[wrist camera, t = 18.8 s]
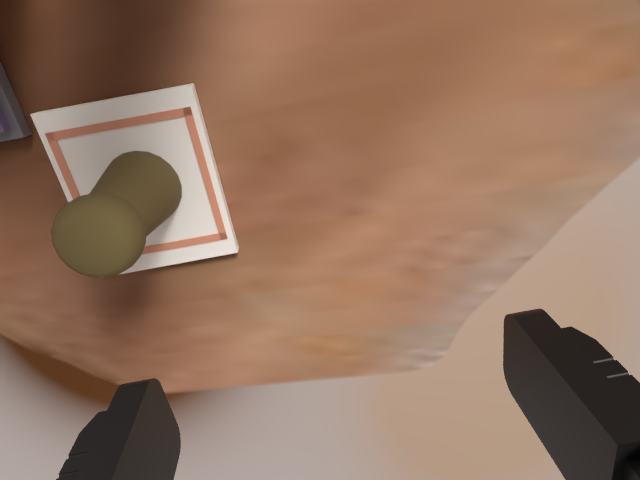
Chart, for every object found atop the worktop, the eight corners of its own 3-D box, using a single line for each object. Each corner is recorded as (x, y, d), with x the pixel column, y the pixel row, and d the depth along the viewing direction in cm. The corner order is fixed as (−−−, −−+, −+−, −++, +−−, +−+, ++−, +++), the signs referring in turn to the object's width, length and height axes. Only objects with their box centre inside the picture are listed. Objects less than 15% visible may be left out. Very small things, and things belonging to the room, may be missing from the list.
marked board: (36, 111, 34) (29, 114, 33) (193, 82, 34) (191, 84, 33) (105, 272, 40) (100, 278, 39) (238, 247, 40) (237, 253, 39)
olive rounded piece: (95, 152, 34) (18, 201, 24) (175, 148, 35) (132, 195, 25) (113, 225, 37) (50, 296, 27) (187, 220, 37) (152, 289, 27)
